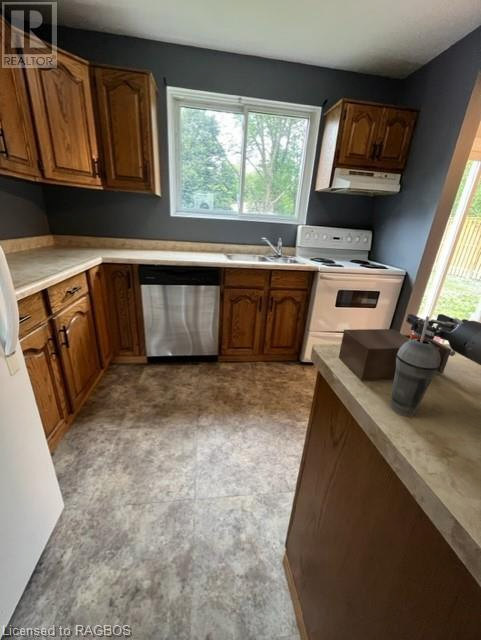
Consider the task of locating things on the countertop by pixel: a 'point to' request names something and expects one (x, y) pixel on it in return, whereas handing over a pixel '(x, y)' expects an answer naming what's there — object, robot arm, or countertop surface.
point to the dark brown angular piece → (442, 350)
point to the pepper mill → (416, 336)
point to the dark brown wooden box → (371, 352)
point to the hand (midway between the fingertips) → (423, 317)
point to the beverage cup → (413, 374)
